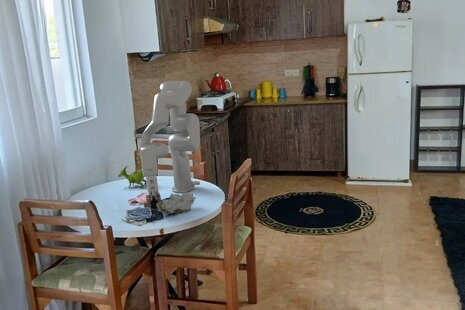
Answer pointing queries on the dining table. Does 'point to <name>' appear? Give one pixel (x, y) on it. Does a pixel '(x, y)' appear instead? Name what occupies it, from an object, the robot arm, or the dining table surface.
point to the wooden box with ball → (148, 201)
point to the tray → (129, 212)
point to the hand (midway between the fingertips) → (154, 205)
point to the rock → (176, 203)
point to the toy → (133, 177)
